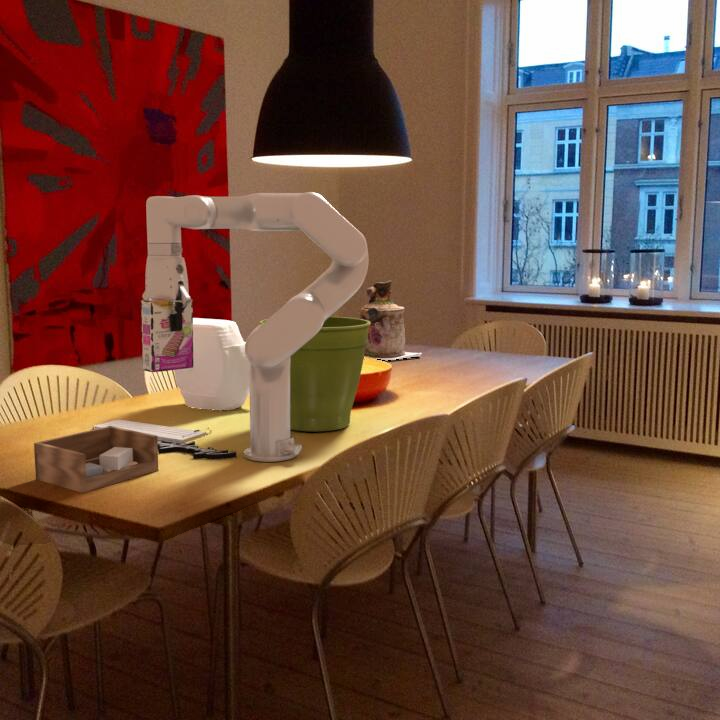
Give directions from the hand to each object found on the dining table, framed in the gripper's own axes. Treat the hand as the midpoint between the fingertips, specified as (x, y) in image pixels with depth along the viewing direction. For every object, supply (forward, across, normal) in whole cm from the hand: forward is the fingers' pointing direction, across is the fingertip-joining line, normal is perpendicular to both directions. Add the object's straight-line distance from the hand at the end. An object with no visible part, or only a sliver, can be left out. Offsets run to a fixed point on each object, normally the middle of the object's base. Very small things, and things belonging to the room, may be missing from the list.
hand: (167, 329), depth 199 cm
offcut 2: (+27, -4, +19) cm, 34 cm away
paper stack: (+30, +31, -45) cm, 63 cm away
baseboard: (+31, +22, -14) cm, 41 cm away
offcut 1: (+30, -3, +26) cm, 40 cm away
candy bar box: (+10, 0, 0) cm, 10 cm away
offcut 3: (+30, -4, +19) cm, 36 cm away
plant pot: (+30, -8, -45) cm, 55 cm away
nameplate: (+31, 0, -5) cm, 31 cm away
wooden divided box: (+30, 0, +20) cm, 36 cm away
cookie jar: (+31, +47, -159) cm, 168 cm away
